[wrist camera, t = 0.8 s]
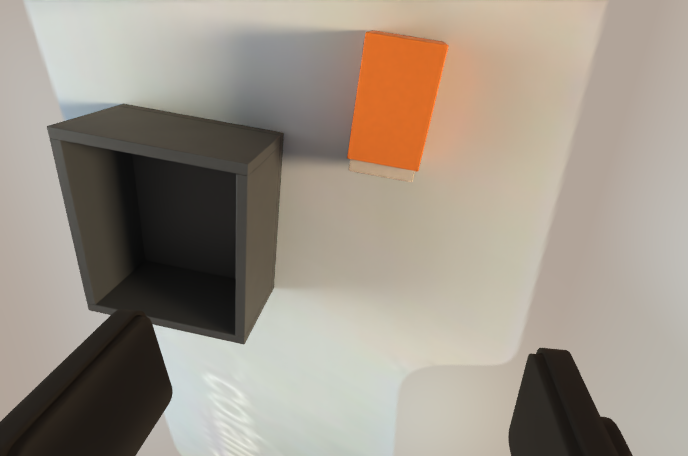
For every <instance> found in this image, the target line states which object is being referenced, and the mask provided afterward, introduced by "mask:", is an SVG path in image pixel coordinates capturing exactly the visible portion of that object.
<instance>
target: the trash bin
mask: <svg viewBox="0 0 688 456" xmlns="http://www.w3.org/2000/svg"><path fill="white" fill-rule="evenodd" d="M47 130H48V134H49V137H50V142H51V146H52V151H53V155H54V159H55V164H56V168H57V173H58V177H59V182H60V186H61V190H62V195H63V199H64V204H65V208H66V213H67V217H68V221H69V226H70V230H71V234H72V239H73V243H74V248H75V252H76V256H77V261H78V265H79V269H80V274H81V278H82V283H83V287H84V292H85V296H86V300H87V304H88V309H89V310H91V311H96V312H100V313H105V314H109V315H112V314H113V313H114V312H115V311H117V310H119V309H128V310H138V311H143V312H144V313H145V314H146V316H147V317H148V318H150V320H151V322H152V324H154V325H159V326H163V327H168V328H172V329H177V330H181V331H186V332H190V333H195V334H199V335H204V336H208V337H213V338H217V339H222V340H226V341H231V342H235V343H240V344H245V342H246V340H247V338H248V336H249V334H250V332H251V331H252V329H253V327H254V325H255V323H256V321H257V319H258V317H259V315H260V313H261V311H262V309H263V307H264V305H265V304H266V302H267V300H268V298H269V296H270V294H271V292H272V290H273V288H274V276H275V260H276V244H277V229H278V213H279V198H280V182H281V166H282V151H283V135H284V133H281V132H276V131H270V130H265V129H259V128H254V127H248V126H243V125H237V124H232V123H226V122H221V121H215V120H210V119H204V118H198V117H193V116H187V115H182V114H176V113H171V112H165V111H160V110H154V109H149V108H143V107H138V106H132V105H127V104H121V105H118V106H115V107H111V108H108V109H104V110H101V111H97V112H94V113H91V114H87V115H84V116H80V117H77V118H74V119H70V120H67V121H63V122H60V123H57V124H53V125H50V126H47Z"/></svg>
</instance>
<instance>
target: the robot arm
mask: <svg viewBox="0 0 688 456" xmlns="http://www.w3.org/2000/svg"><path fill="white" fill-rule="evenodd" d="M171 398H172V386H171V383H170V380H169V376H168V373H167V370H166V367H165V364H164V360H163V357H162V354H161V351H160V348H159V344H158V341H157V338H156V335H155V332H154V328H153V325H152V322H151V320H150V318H148V317H147V316H146V314H145V313H144V312H143V311H138V310H128V309H119V310H117V311H115V312H114V313H113V314H112V315H111V316H110V317H109V318H108V319H107V320H106V321H105V322H104V323H102V324H101V326H99V327H98V328H97V329H96V330H95V331H94V332H93V333H92V334H91V335H90V336H89V337H88V338H87V339H86V340H85V341H84V342H83V343H82V344H81V345H80V346H79V347H77V349H75V350H74V351H73V352H72V353H71V354H70V355H69V356H68V357H67V358H66V359H65V360H64V361H63V362H62V363H61V364H60V365H59V366H58V367H57V368H56V369H55V370H54V371H53V372H52V373H50V374H49V376H47V377H46V378H45V379H44V380H43V381H42V382H41V383H40V384H39V385H38V386H37V387H36V388H35V389H34V390H33V391H32V392H31V393H30V394H29V395H28V396H27V397H26V398H25V399H24V400H22V401H21V402H20V403H19V404H18V405H17V406H16V407H15V408H14V409H13V410H12V411H11V412H10V413H9V414H8V415H7V416H6V417H5V418H4V419H3V420H2V421H1V422H0V456H135V455H136V454H137V452H138V451H139V449H140V448H141V446H142V445H143V443H144V441H145V440H146V438H147V437H148V435H149V434H150V432H151V431H152V429H153V428H154V426H155V424H156V423H157V421H158V420H159V418H160V417H161V415H162V414H163V412H164V411H165V409H166V407H167V406H168V404H169V402H170V400H171ZM509 447H510V452H511V456H632V454H631V452H630V450H629V448H628V446H627V444H626V442H625V440H624V438H623V436H622V434H621V432H620V430H619V428H618V427H617V425H616V424H615V423H614V422H613V421H612V420H611V419H610V418H607V417H600V415H599V413H598V411H597V409H596V407H595V404H594V402H593V400H592V398H591V396H590V394H589V392H588V390H587V387H586V385H585V383H584V381H583V379H582V377H581V375H580V372H579V370H578V368H577V366H576V364H575V362H574V360H573V358H572V356H571V354H570V352H568V351H567V350H558V349H548V348H539V349H538V350H537V353H536V354H529V356H528V359H527V363H526V367H525V370H524V374H523V378H522V382H521V386H520V390H519V394H518V397H517V401H516V405H515V409H514V413H513V417H512V421H511V425H510V428H509Z"/></svg>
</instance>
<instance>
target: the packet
mask: <svg viewBox="0 0 688 456" xmlns="http://www.w3.org/2000/svg"><path fill="white" fill-rule="evenodd" d="M447 51H448V45H447V44H446V43H444V42H442V41H436V40H429V39H423V38H417V37H411V36H405V35H398V34H392V33H386V32H380V31H373V30H372V31H369V32H366V33H365V40H364V47H363V54H362V61H361V67H360V74H359V81H358V88H357V95H356V101H355V108H354V115H353V122H352V128H351V135H350V142H349V149H348V156H347V158H348V159H350V165H349V171H354V172H359V173H364V174H370V175H375V176H380V177H386V178H391V179H397V180H402V181H407V182H412V181H413V177H414V172H415V171H418V170H419V166H420V162H421V158H422V154H423V150H424V145H425V141H426V137H427V133H428V129H429V125H430V121H431V117H432V112H433V108H434V104H435V100H436V96H437V92H438V88H439V84H440V79H441V75H442V71H443V67H444V63H445V59H446V55H447Z"/></svg>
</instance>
